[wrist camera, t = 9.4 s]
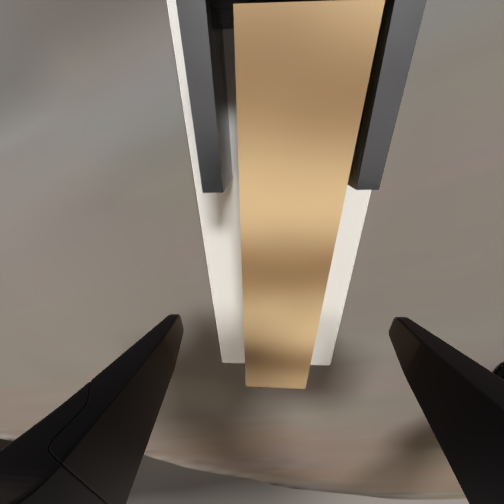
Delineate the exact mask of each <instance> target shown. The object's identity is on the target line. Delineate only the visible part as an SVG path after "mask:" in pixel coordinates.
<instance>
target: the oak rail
mask: <svg viewBox="0 0 504 504" xmlns="http://www.w3.org/2000/svg"><path fill="white" fill-rule="evenodd" d="M384 4H385V0H335V1H303V2H271V3H239V4H233V12H234V43H235V74H236V105H237V135H238V166H239V197H240V228H241V258H242V289H243V320H244V350H245V381H246V386H250V387H272V388H294V389H305V388H306V383H307V379H308V374H309V369H310V364H311V359H312V354H313V349H314V345H315V340H316V335H317V330H318V325H319V320H320V315H321V310H322V306H323V301H324V296H325V291H326V286H327V281H328V276H329V272H330V267H331V262H332V257H333V252H334V247H335V242H336V237H337V233H338V228H339V223H340V218H341V213H342V208H343V203H344V199H345V194H346V189H347V184H348V179H349V174H350V169H351V165H352V160H353V155H354V150H355V145H356V140H357V135H358V130H359V126H360V121H361V116H362V111H363V106H364V101H365V96H366V92H367V87H368V82H369V77H370V72H371V67H372V62H373V57H374V53H375V48H376V43H377V38H378V33H379V28H380V23H381V19H382V14H383V9H384Z"/></svg>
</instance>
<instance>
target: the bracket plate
mask: <svg viewBox="0 0 504 504" xmlns="http://www.w3.org/2000/svg"><path fill="white" fill-rule="evenodd" d="M303 1H335V0H167V6H168V13H169V19H170V26H171V32H172V39H173V45H174V52H175V58H176V65H177V71H178V78H179V84H180V91H181V97H182V104H183V110H184V117H185V123H186V130H187V136H188V143H189V149H190V156H191V162H192V169H193V175H194V182H195V188H196V195H197V201H198V208H199V214H200V221H201V227H202V234H203V240H204V247H205V253H206V260H207V266H208V273H209V279H210V286H211V292H212V299H213V305H214V312H215V318H216V325H217V331H218V338H219V344H220V351H221V357H222V363H245V350H244V320H243V289H242V258H241V228H240V197H239V166H238V135H237V105H236V74H235V43H234V12H233V4H239V3H271V2H303ZM425 4H426V0H385V4H384V9H383V14H382V19H381V23H380V28H379V33H378V38H377V43H376V48H375V53H374V57H373V62H372V67H371V72H370V77H369V82H368V87H367V92H366V96H365V101H364V106H363V111H362V116H361V121H360V126H359V130H358V135H357V140H356V145H355V150H354V155H353V160H352V165H351V169H350V174H349V179H348V184H347V189H346V194H345V199H344V203H343V208H342V213H341V218H340V223H339V228H338V233H337V237H336V242H335V247H334V252H333V257H332V262H331V267H330V272H329V276H328V281H327V286H326V291H325V296H324V301H323V306H322V310H321V315H320V320H319V325H318V330H317V335H316V340H315V345H314V349H313V354H312V359H311V364H310V365H330V363H331V359H332V355H333V351H334V346H335V342H336V338H337V334H338V329H339V325H340V321H341V317H342V313H343V308H344V304H345V300H346V296H347V291H348V287H349V283H350V279H351V274H352V270H353V266H354V262H355V257H356V253H357V249H358V245H359V241H360V236H361V232H362V228H363V224H364V219H365V215H366V211H367V207H368V202H369V198H370V194H371V190H379V187H380V183H381V179H382V175H383V171H384V167H385V163H386V159H387V155H388V151H389V147H390V143H391V139H392V135H393V131H394V127H395V123H396V119H397V115H398V111H399V107H400V103H401V99H402V95H403V91H404V87H405V83H406V79H407V75H408V71H409V67H410V64H411V60H412V56H413V52H414V48H415V44H416V40H417V36H418V32H419V28H420V24H421V20H422V16H423V12H424V8H425Z"/></svg>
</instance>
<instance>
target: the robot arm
mask: <svg viewBox="0 0 504 504" xmlns="http://www.w3.org/2000/svg"><path fill="white" fill-rule="evenodd" d="M182 336H183V324H182V321H181V317H180V315H178V314H171V315H169V316H167V317H166V318H165V319H164V320H163V321H161V322H160V323H159V324H158V325H157V326H155V327H154V328H153V329H152V330H151V331H149V332H148V333H147V334H146V335H145V336H143V337H142V338H141V339H140V340H139V341H138V342H136V343H135V344H134V345H133V346H132V347H130V348H129V349H128V350H127V351H126V352H124V353H123V354H122V355H121V356H120V357H118V358H117V359H116V360H115V361H114V362H113V363H111V364H110V365H109V366H108V367H107V368H105V369H104V370H103V371H102V372H101V373H99V374H98V375H97V376H96V377H95V378H93V379H92V380H91V382H89V383H87V384H86V385H85V386H84V387H83V388H81V389H80V390H79V391H78V392H77V393H75V394H74V395H73V396H72V397H70V398H69V399H68V400H67V401H66V402H64V403H63V404H62V405H61V406H59V407H58V408H57V409H55V410H54V411H53V412H51V413H50V414H49V415H48V416H46V417H45V418H44V419H42V420H41V421H40V422H38V423H37V424H36V425H34V426H33V427H32V428H30V429H29V430H28V431H26V432H25V433H24V434H22V435H21V436H20V437H18V438H17V439H16V440H14V441H13V442H12V443H10V444H9V445H8V446H6V447H5V448H4V449H2V450H1V451H0V504H126V502H127V499H128V496H129V494H130V491H131V488H132V485H133V482H134V480H135V477H136V474H137V471H138V468H139V466H140V463H141V460H142V457H143V455H144V452H145V449H146V446H147V444H148V441H149V438H150V435H151V432H152V430H153V427H154V424H155V421H156V419H157V416H158V413H159V410H160V407H161V405H162V402H163V399H164V396H165V393H166V391H167V388H168V385H169V382H170V380H171V377H172V374H173V371H174V368H175V364H176V360H177V356H178V352H179V348H180V344H181V340H182ZM389 336H390V339H391V342H392V344H393V347H394V349H395V352H396V355H397V357H398V360H399V362H400V365H401V367H402V370H403V372H404V375H405V377H406V379H407V381H408V383H409V385H410V387H411V389H412V391H413V393H414V395H415V397H416V399H417V401H418V403H419V405H420V407H421V409H422V410H423V412H424V414H425V416H426V418H427V420H428V422H429V424H430V426H431V428H432V430H433V432H434V434H435V436H436V438H437V440H438V442H439V444H440V446H441V448H442V450H443V452H444V454H445V456H446V458H447V460H448V462H449V464H450V466H451V468H452V470H453V472H454V474H455V476H456V478H457V480H458V482H459V484H460V486H461V488H462V490H463V492H464V494H465V496H466V498H467V500H468V502H469V504H504V365H503V367H502V368H501V369H500V370H499V371H498V372H497V373H496V375H495V374H494V373H492V372H491V371H489V370H488V369H486V368H484V367H483V366H481V365H480V364H478V363H477V362H475V361H474V360H472V359H471V358H469V357H467V356H466V355H464V354H463V353H461V352H460V351H458V350H457V349H455V348H454V347H452V346H450V345H449V344H447V343H446V342H444V341H443V340H441V339H440V338H438V337H436V336H435V335H433V334H432V333H430V332H429V331H427V330H426V329H424V328H423V327H421V326H419V325H418V324H416V323H415V322H413V321H412V320H410V319H409V318H406V317H395V318H394V320H393V322H392V325H391V327H390V330H389Z"/></svg>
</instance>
